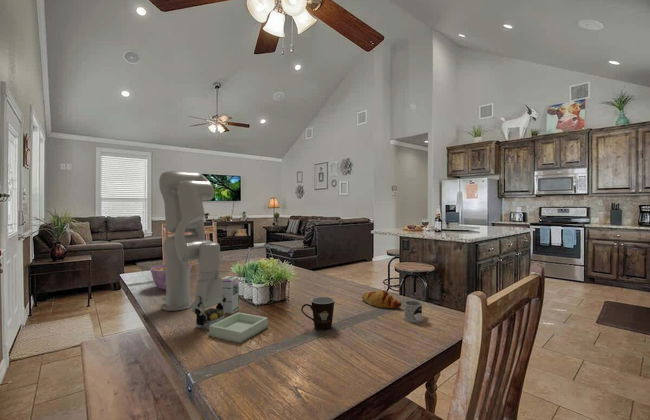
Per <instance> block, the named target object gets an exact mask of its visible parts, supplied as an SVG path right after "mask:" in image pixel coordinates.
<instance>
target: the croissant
mask: <svg viewBox="0 0 650 420" xmlns="http://www.w3.org/2000/svg"><path fill="white" fill-rule="evenodd" d="M361 299H362V300H363V301H364V302H365V303H367V304H368V305H369V306H373V307H377V308H387V309H397V308H400V307H401V306H402V302H401V301H399V300H397V299H396V298H394V297H393V295H391V294H389V292H388V291H386V290H378V291H370V292H365V293H363V294H362V295H361Z"/></svg>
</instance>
